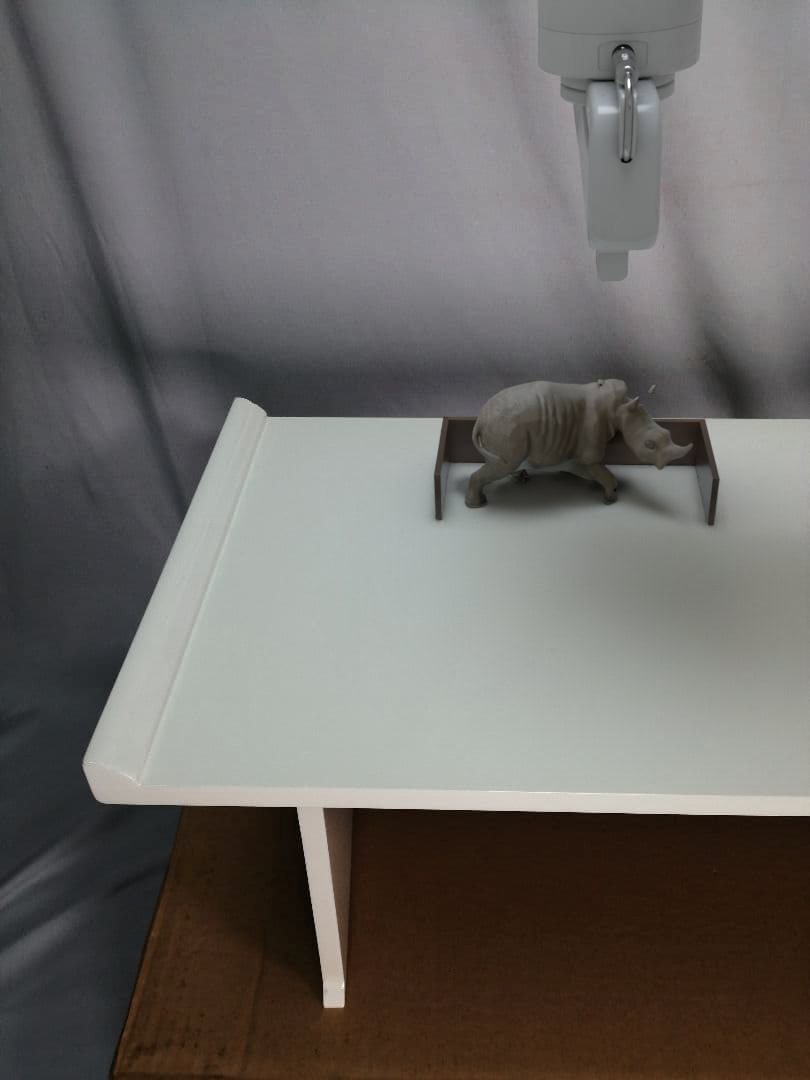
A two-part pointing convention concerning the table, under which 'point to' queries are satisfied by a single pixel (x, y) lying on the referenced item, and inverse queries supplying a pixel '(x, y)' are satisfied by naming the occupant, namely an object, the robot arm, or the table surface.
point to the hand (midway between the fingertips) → (610, 273)
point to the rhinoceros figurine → (564, 433)
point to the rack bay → (682, 433)
